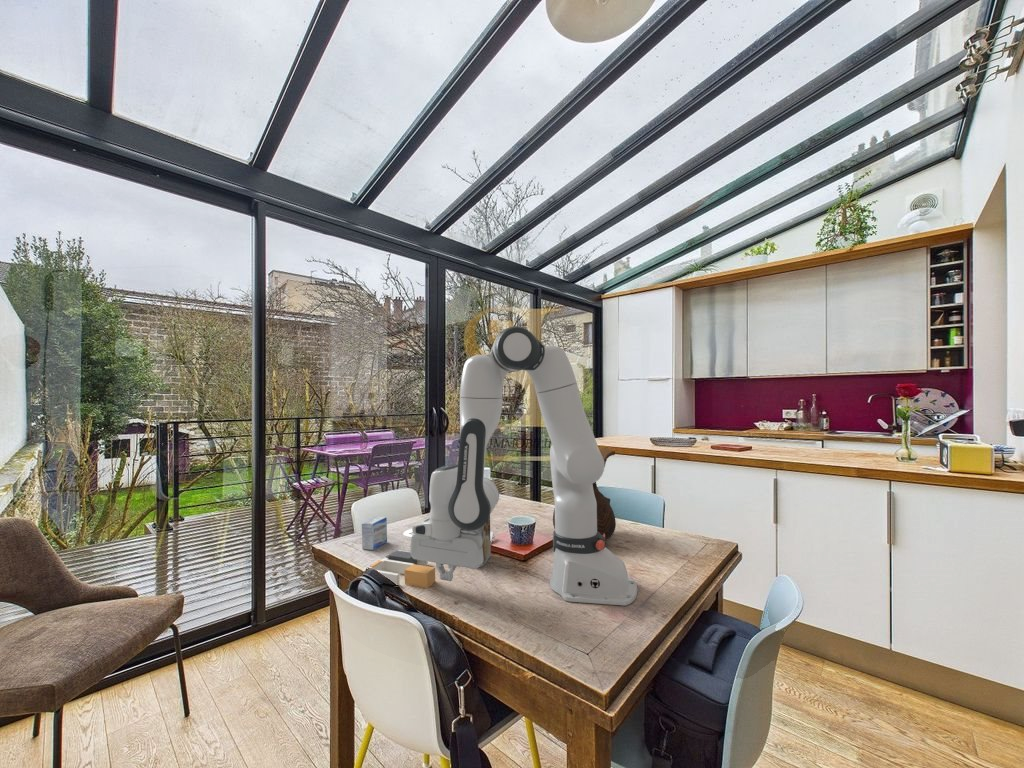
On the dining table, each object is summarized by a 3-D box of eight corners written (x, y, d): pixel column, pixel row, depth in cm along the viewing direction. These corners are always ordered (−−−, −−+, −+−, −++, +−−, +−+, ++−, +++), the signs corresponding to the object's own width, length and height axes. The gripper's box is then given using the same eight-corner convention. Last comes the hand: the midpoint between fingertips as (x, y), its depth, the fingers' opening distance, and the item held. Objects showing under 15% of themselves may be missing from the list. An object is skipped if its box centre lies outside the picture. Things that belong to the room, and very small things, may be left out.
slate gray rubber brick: (416, 566, 130) (416, 553, 130) (409, 572, 127) (408, 558, 127) (397, 563, 133) (396, 550, 133) (388, 568, 129) (388, 555, 129)
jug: (619, 553, 137) (618, 457, 137) (550, 550, 141) (549, 456, 141) (615, 530, 159) (614, 447, 159) (555, 528, 162) (554, 446, 162)
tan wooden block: (435, 582, 120) (434, 567, 120) (427, 588, 116) (427, 573, 116) (413, 578, 122) (413, 564, 122) (404, 584, 119) (404, 569, 119)
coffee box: (471, 554, 139) (470, 503, 139) (491, 555, 137) (490, 504, 137) (462, 566, 130) (461, 511, 130) (483, 567, 128) (482, 512, 128)
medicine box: (373, 550, 143) (372, 524, 143) (361, 549, 144) (361, 522, 144) (387, 542, 150) (387, 516, 150) (376, 541, 152) (376, 515, 152)
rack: (427, 564, 131) (427, 553, 131) (397, 586, 117) (397, 574, 117) (398, 559, 135) (398, 549, 135) (365, 580, 121) (365, 568, 121)
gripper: (487, 527, 115) (487, 580, 115) (420, 519, 122) (420, 569, 122) (477, 535, 109) (477, 591, 109) (406, 526, 116) (407, 578, 116)
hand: (446, 579), depth 116 cm, fingers closed
